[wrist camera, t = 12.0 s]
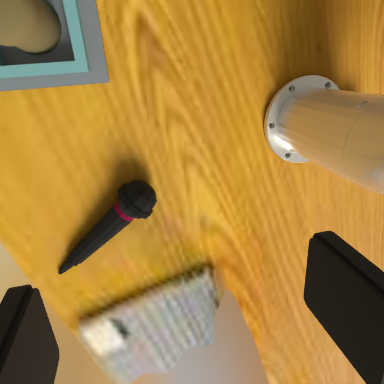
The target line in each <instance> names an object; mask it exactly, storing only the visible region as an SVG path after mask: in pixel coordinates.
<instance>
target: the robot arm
mask: <svg viewBox="0 0 384 384" xmlns="http://www.w3.org/2000/svg"><path fill="white" fill-rule="evenodd" d="M289 87H290V89H289ZM270 123H271V125H270V126H269V124H270ZM264 132H265V137H266V140H267V143H268V145H269V147H270V148H271V150H272V151H273V152H274V153H275V154H276V155H278V156H279V157H281V158H282V159H284V160H286V161H290V162H294V163H302V162H308V161H311V162H313V163H315V164H317V165H319V166H321V167H323V168H325V169H327V170H329V171H331V172H333V173H335V174H337V175H339V176H341V177H343V178H345V179H347V180H348V181H350V182H352V183H354V184H357V185H359V186H361V187H363V188H365V189H367V190H369V191H372V192H375V193H379V194H384V95H379V94H370V93H361V92H353V91H344V90H340V89H339V88H338V86H337V85H336V84H335V83H334V82H333V81H331V80H329V79H328V78H326V77H322V76H318V75H306V76H301V77H298V78H295V79H293V80H291V81H289V82H288V83H286V84H285V85H284V86H283V87H281V88H280V89H279V91H278V92H277V93H276V94H275V95H274V97H273V98H272V100H271V102H270V104H269V106H268V108H267V111H266V115H265V120H264ZM285 154H286V155H285ZM304 300H305V303H306V305H307V307H308V308H309V309H310V310H311V312H312V313H313V314H314V316H315V317H316V318H317V320H318V321H319V322H320V324H321V325H322V326H323V327H324V329H325V330H326V331H327V333H328V334H329V335H330V337H331V338H332V339H333V341H334V342H335V343H336V345H337V346H338V347H339V348H340V350H341V351H342V352H343V354H344V355H345V356H346V358H347V359H348V360H349V362H350V363H351V364H352V365H353V367H354V368H355V369H356V371H357V372H358V373H359V375H360V376H361V377H362V379H363V380H364V381H365V383H366V384H384V272H383V271H382V270H381V269H379V268H378V267H377V266H376V265H374V264H373V263H372V262H371V261H369V260H368V259H367V258H365V257H364V256H363V255H362V254H360V253H359V252H358V251H357V250H355V249H354V248H353V247H352V246H350V245H349V244H348V243H347V242H345V241H344V240H343V239H342V238H340V237H339V236H338V235H337V234H335V233H334V232H332V231H325V232H319V233H315V234H314V235H313V238H311V239H310V241H309V249H308V258H307V268H306V277H305V287H304ZM58 362H59V348H58V345H57V342H56V339H55V336H54V333H53V330H52V327H51V325H50V321H49V318H48V316H47V313H46V310H45V307H44V304H43V301H42V298H41V295H40V292H39V290H38V288H34V289H33V288H32V286H31V285H23V286H18V287H13V288H9V289H8V290H7V292H6V294H5V296H4V298H3V300H2V302H1V304H0V384H54V380H55V375H56V371H57V367H58Z"/></svg>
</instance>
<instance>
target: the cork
mask: <svg viewBox="0 0 384 384" xmlns="http://www.w3.org/2000/svg"><path fill="white" fill-rule="evenodd" d="M61 35H62V28H61V22H60V19H59V16H58V14H57V12H56V11H55V9H54V8H53V6H52V5H51V4H50V3H49V2H47V1H46V0H0V45H4V46H16V47H17V48H19V49H20V50H22V51H24V52H27V53H29V54H35V55H41V54H47V53H48V52H50V51H52V50H54V49H55V47H56V46H57V45H58V43H59V41H60V38H61Z"/></svg>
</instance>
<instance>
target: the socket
mask: <svg viewBox="0 0 384 384" xmlns="http://www.w3.org/2000/svg"><path fill="white" fill-rule="evenodd" d="M46 1H47V2H49V3H50V4H51V5H52V6H53V8H54V9H55V11H56V12H57V14H58V16H59V19H60V22H61V28H62V35H61V38H60V41H59V43H58V45H57V46H56V47H55V49H54V50H52V51H50V52H48V53H47V54H41V55H35V54H29V53H27V52H24V51H22V50H20V49H19V48H17V47H16V46H4V45H0V91H10V90H22V89H34V88H47V87H59V86H71V85H83V84H95V83H107V82H109V77H108V71H107V65H106V59H105V53H104V47H103V41H102V35H101V29H100V23H99V17H98V11H97V5H96V0H46Z"/></svg>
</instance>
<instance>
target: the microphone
mask: <svg viewBox="0 0 384 384" xmlns="http://www.w3.org/2000/svg"><path fill="white" fill-rule="evenodd" d="M156 201H157V200H156V194H155V191H154V190H153V188H152V187H151V186H150V185H149V184H148V183H146V182H143V181H138V180H135V181H133V182H131V183H129V184H126V183H125V184H124V185H123V186H121V187H120V188H119V190H118V203H116V204H115V205H114V206H113V207H112V208H111V209H110V210H109V211H108V212H107V213H106V214H105V215H104V216H103V218H102V219H101V220H100V221H99V222H98V223H97V224H96V225H95V226H94V227H93V228H92V230H91V231H90V232H89V233H88V234H87V235H86V236H85V237H84V238H83V239H82V240H81V242H80V243H79V244H78V245H77V246H76V247H75V248H74V249H73V250H72V251H71V253H70V255H69V257H68V258H67V261H66V262H65V263H64V264H63V266H62V267H61V268H60V270H59V271H58V273H59V274H62V273H64V272H65V271H67V270H68V269H70V268H71V267H73V266H77V265H78V264H79V263H82V262H83V261H84V260H85V259H87V258H88V257H89V256H90V255H91V254H93V253H94V252H95V251H96V250H98V249H99V248H100V247H101V246H102V245H104V244H105V243H106V242H107V241H108V240H110V239H111V238H112V237H113V236H115V235H116V234H117V233H118V232H119V231H121V230H122V229H123V228H124V227H125V226H127V225H128V224H129V223H130V222H131V221H132V220H133V218H137V219H139V218H145V219H146V218H147V217H149V216H150V215H151V213H152V212H153V210H152V208H153V207H154V206H155V203H156Z"/></svg>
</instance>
